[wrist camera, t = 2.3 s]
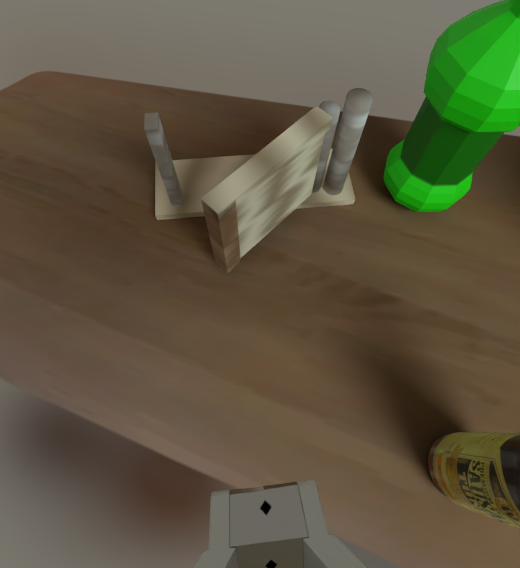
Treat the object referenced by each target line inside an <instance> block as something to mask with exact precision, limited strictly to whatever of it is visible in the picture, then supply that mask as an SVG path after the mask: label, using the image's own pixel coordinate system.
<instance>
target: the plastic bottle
mask: <svg viewBox="0 0 520 568" xmlns="http://www.w3.org/2000/svg"><path fill="white" fill-rule="evenodd" d="M424 93H425V95H426V98H425V100H424V102H423V104H422V106H421V108H420V110H419V112H418V114H417V116H416V118H415V120H414V122H413V124H412V126H411V128H410V130H409V132H408V134H407V136H406V138H405V139H404V140H403V141H401V142H400V143H398V144H397V145H396V146H395V147H393V148H392V149H391V150H390V152H389V154H388V156H387V161H386V166H385V171H384V176H383V177H384V183H385V185H386V187H387V188H388V190H389V192H390V193H391V195H392V197H393V198H394V200H395V201H396V202H397V203H399V204H401V205H403V206H405V207H407V208H409V209H411V210H413V211H414V212H440V211H443V210H445V209H447V208H449V207H450V206H451V205H453V204H454V203H455V202H456V201H458V200H459V199H460V198H462V197H463V196H464V195H465V194H466V193H467V192H468V190H469V189H470V186H471V182H472V172H473V170H474V169H475V168H476V167H477V166H478V164H479V163H480V162H481V161H482V159H483V158H484V157H485V156H486V154H487V153H488V152H489V151H490V149H491V148H492V147H493V146H494V144H495V143H496V142H497V141H498V140H499V138H500V137H501V136H502V135H503V133H504V132H508V131H513V130H514V129H516V128H517V127H518V126H520V0H504V1H500V2H497V3H494V4H492V5H489V6H486V7H484V8H481V9H479V10H476V11H474V12H472V13H470V14H469V15H467V16H465V17H464V18H462V19H460V20H459V21H457V22H455V23H454V24H452V25H450V26H449V27H448V28H447V29H446V30H445V31H444V33H443V34H442V35H441V36H440V37H439V38H438V39H437V41H436V43H435V46H434V48H433V50H432V52H431V55H430V60H429V64H428V69H427V75H426V82H425V88H424Z"/></svg>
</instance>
